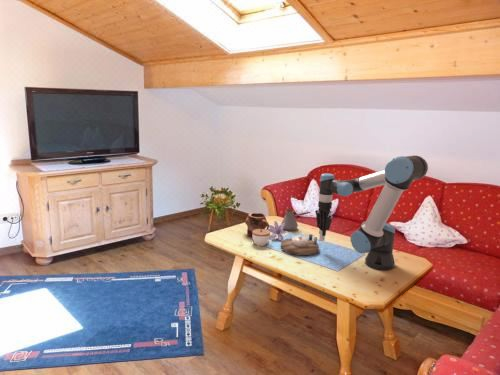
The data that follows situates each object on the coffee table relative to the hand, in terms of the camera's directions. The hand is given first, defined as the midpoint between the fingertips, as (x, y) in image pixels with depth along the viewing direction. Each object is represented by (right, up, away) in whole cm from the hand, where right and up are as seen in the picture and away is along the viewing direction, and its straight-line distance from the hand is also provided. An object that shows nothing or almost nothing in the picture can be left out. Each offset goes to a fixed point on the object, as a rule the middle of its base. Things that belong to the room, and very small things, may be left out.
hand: (321, 240), depth 225 cm
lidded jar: (-35, -4, +11) cm, 37 cm away
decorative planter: (-37, -1, +25) cm, 44 cm away
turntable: (-12, -6, +4) cm, 14 cm away
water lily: (-25, -2, +21) cm, 33 cm away
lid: (-12, -3, +4) cm, 13 cm away
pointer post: (-4, -4, +16) cm, 17 cm away
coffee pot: (-11, +1, +38) cm, 40 cm away
